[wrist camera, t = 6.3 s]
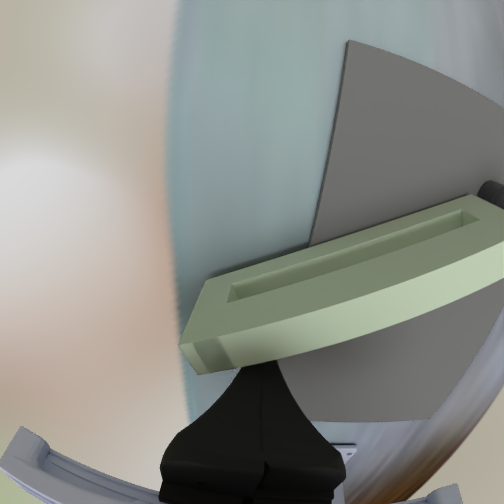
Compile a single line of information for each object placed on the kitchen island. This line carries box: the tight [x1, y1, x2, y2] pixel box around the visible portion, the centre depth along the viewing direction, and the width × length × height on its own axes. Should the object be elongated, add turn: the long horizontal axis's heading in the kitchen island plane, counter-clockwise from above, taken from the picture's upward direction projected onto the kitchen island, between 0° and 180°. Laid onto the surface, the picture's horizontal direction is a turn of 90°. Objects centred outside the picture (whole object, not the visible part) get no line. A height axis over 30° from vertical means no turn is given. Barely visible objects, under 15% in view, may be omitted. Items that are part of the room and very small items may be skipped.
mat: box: [277, 40, 504, 422], centre depth 14 cm, size 22×14×1 cm, turn 171°
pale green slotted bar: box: [178, 194, 504, 375], centre depth 11 cm, size 14×2×5 cm, turn 111°
